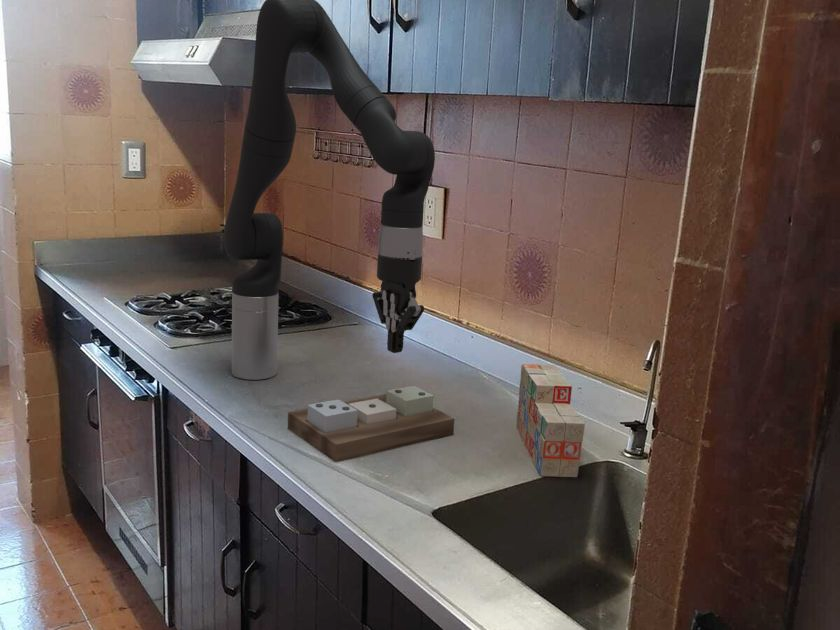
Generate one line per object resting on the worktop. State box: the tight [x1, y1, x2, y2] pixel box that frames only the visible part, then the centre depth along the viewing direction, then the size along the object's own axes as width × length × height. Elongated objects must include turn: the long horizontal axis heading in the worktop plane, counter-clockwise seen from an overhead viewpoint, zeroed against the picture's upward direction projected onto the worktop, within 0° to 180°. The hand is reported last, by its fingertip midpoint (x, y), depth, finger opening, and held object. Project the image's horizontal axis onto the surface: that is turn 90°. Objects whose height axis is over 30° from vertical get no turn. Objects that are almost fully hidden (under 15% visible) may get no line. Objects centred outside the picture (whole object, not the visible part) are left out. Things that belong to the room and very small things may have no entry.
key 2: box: [386, 385, 434, 417], centre depth 145 cm, size 6×6×3 cm
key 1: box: [348, 399, 396, 425], centre depth 140 cm, size 6×6×3 cm
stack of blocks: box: [516, 363, 586, 478], centre depth 136 cm, size 21×6×12 cm, turn 4°
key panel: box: [287, 393, 455, 463], centre depth 140 cm, size 16×24×3 cm, turn 127°
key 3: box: [307, 398, 357, 433], centre depth 135 cm, size 6×6×3 cm
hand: (394, 351), depth 140 cm, fingers closed
